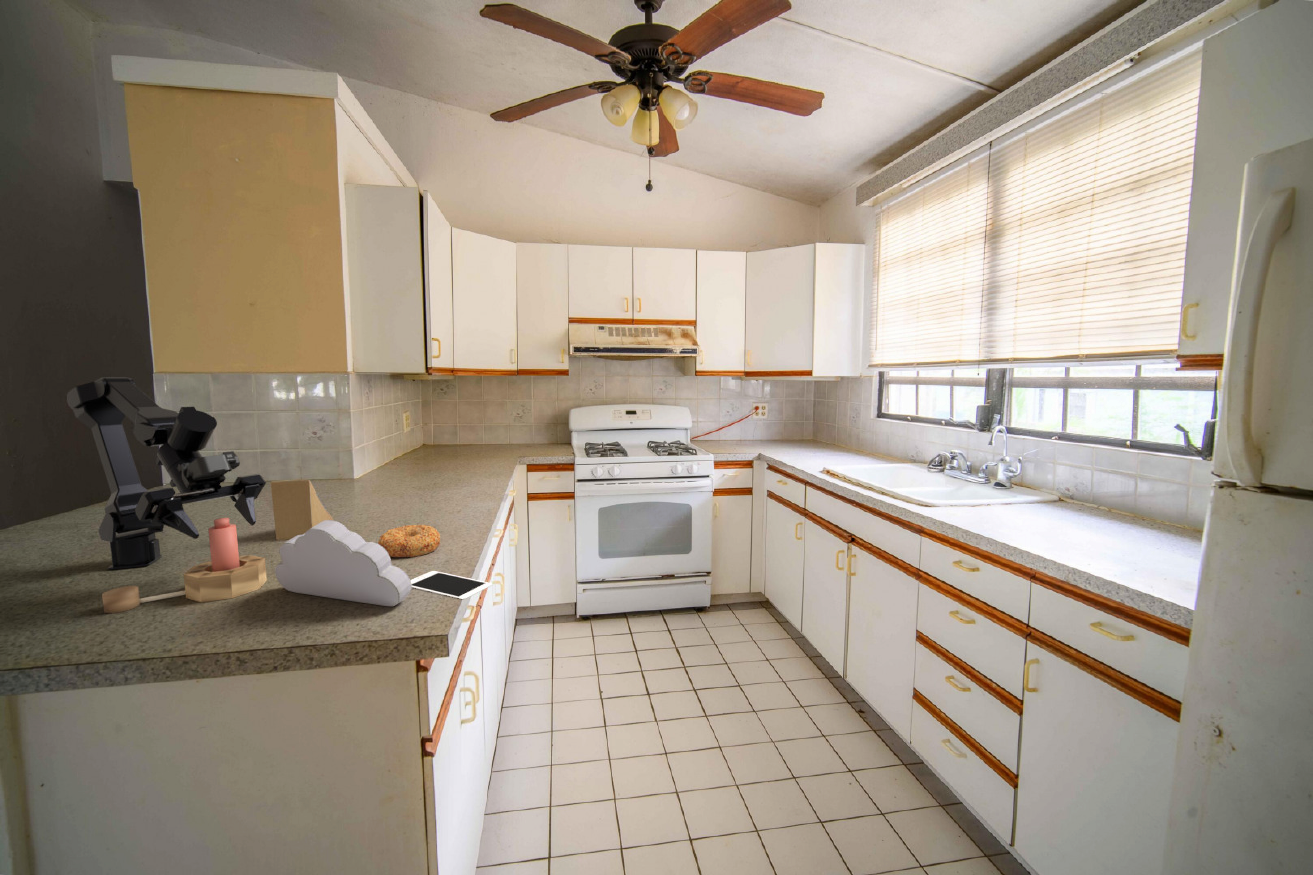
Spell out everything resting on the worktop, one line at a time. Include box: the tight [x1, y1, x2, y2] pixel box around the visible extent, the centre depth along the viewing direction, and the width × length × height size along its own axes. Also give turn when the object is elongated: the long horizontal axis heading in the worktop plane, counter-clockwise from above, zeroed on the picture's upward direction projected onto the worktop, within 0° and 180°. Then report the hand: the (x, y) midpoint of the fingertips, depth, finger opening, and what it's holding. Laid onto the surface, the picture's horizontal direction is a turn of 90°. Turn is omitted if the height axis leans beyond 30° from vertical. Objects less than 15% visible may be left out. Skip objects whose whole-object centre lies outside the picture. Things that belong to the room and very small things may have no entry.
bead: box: [183, 554, 268, 603], centre depth 99 cm, size 11×11×4 cm
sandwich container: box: [270, 478, 335, 541], centre depth 136 cm, size 9×15×15 cm, turn 13°
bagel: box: [377, 524, 441, 558], centre depth 122 cm, size 13×14×5 cm
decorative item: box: [274, 519, 413, 607], centre depth 95 cm, size 28×10×15 cm, turn 74°
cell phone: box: [410, 570, 493, 601], centre depth 102 cm, size 8×16×1 cm, turn 65°
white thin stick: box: [139, 589, 186, 604], centre depth 95 cm, size 12×1×1 cm, turn 128°
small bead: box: [101, 585, 141, 614], centre depth 91 cm, size 4×4×3 cm
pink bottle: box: [208, 517, 240, 572], centre depth 99 cm, size 4×4×14 cm
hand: (226, 530), depth 98 cm, fingers open, 9 cm apart
